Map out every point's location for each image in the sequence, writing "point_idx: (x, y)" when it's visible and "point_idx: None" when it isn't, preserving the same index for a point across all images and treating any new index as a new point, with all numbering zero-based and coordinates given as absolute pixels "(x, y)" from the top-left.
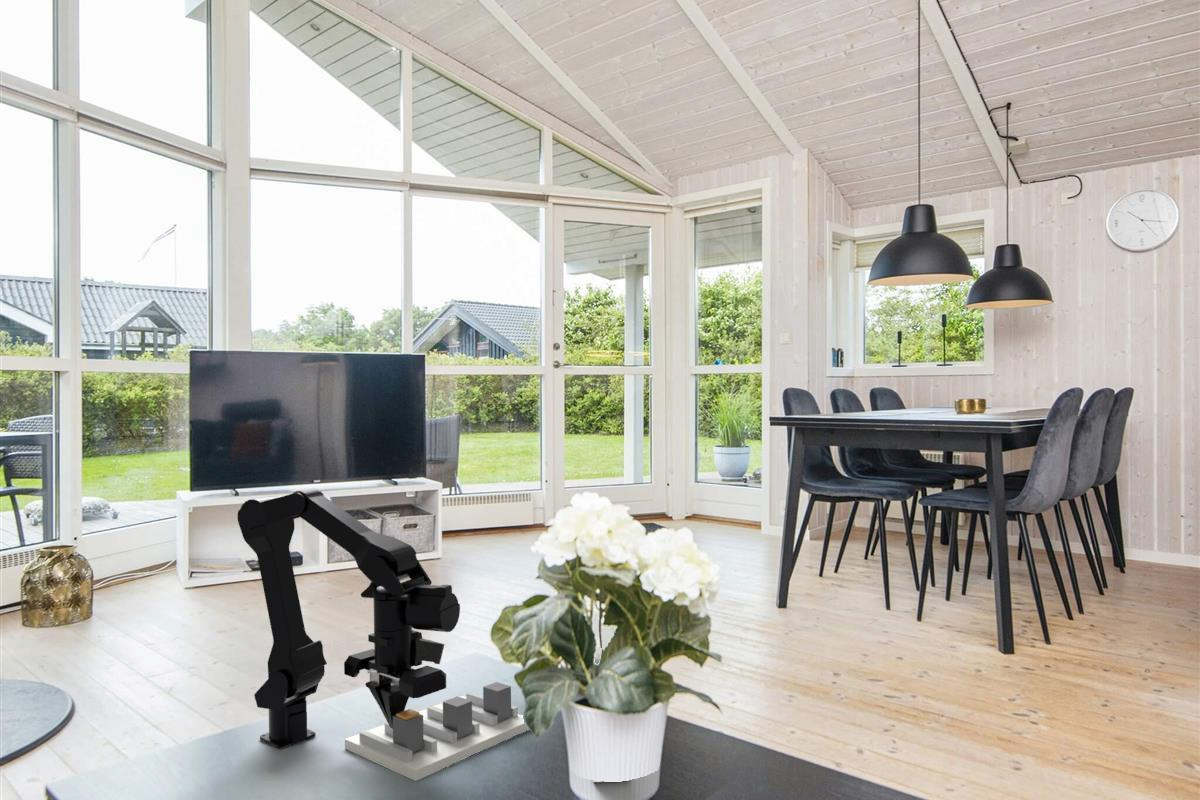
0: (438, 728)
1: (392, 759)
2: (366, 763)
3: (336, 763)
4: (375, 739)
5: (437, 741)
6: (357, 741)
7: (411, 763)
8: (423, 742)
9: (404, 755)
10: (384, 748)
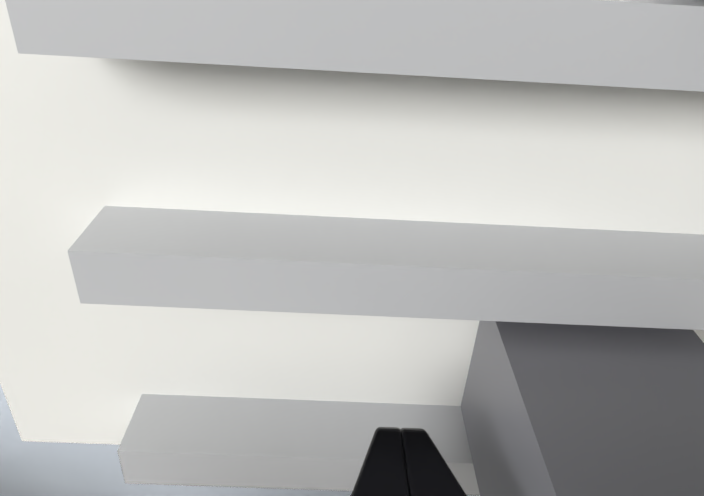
0: (691, 78)
1: None
2: None
3: (208, 488)
4: (329, 487)
5: (675, 116)
6: (123, 424)
7: None
8: (697, 335)
9: None
10: None
